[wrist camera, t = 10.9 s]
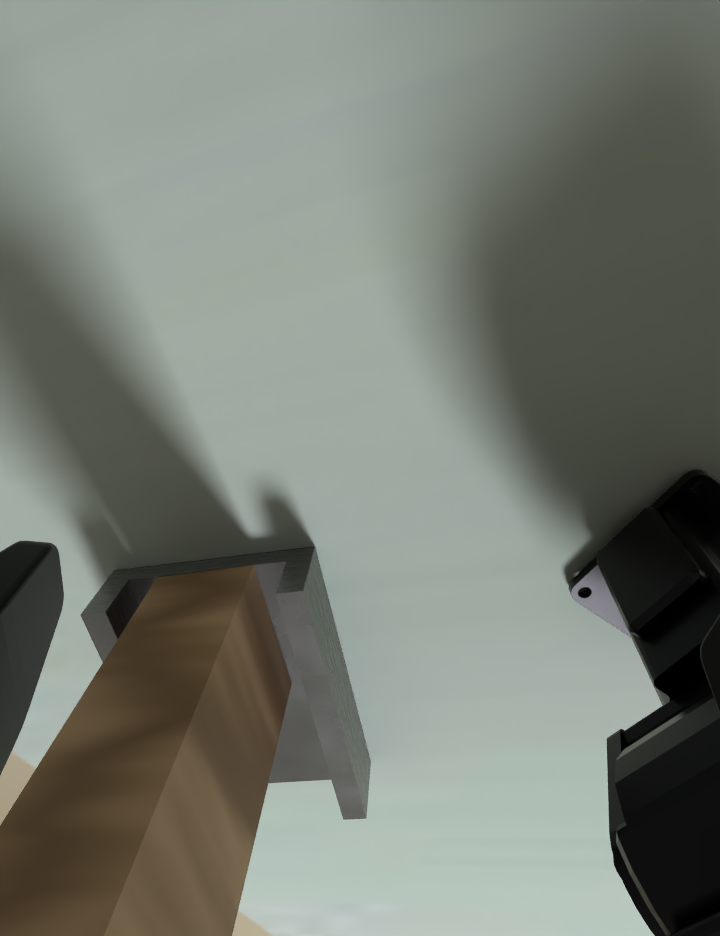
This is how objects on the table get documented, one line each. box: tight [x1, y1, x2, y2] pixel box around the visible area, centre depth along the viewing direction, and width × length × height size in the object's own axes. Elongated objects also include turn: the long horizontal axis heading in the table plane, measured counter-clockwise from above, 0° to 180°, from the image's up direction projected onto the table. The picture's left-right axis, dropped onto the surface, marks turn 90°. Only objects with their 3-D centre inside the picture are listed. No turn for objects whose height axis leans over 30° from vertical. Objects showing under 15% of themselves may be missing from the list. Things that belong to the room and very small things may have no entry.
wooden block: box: [0, 565, 292, 936], centre depth 18 cm, size 4×6×15 cm, turn 12°
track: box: [81, 547, 371, 819], centre depth 26 cm, size 12×8×3 cm
